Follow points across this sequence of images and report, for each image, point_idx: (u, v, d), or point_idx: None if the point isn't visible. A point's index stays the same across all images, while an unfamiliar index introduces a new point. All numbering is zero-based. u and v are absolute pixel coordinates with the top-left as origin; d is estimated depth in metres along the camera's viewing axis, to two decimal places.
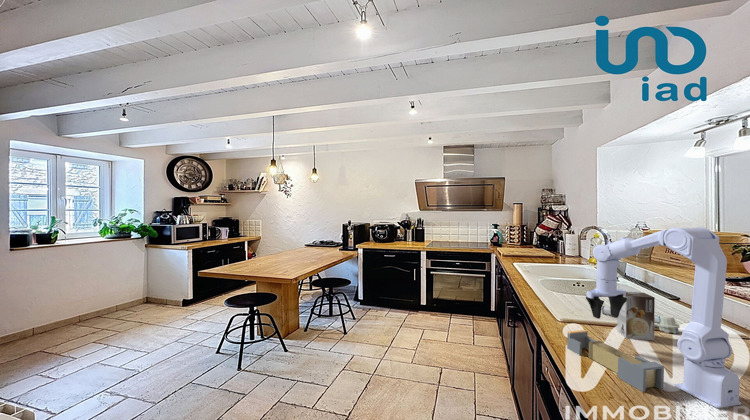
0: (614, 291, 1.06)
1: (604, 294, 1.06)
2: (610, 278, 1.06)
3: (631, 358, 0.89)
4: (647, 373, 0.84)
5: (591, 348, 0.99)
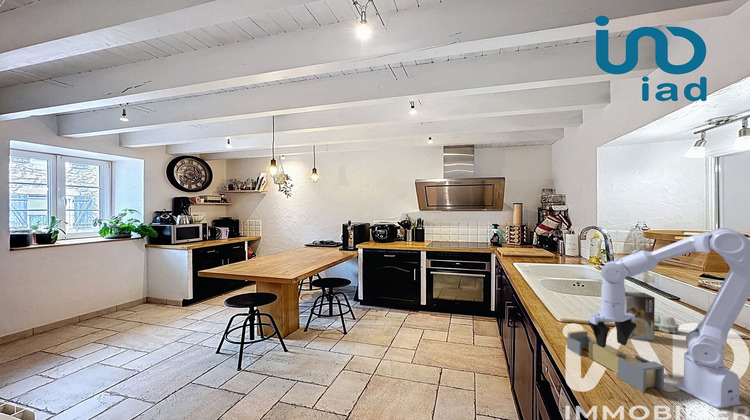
0: (622, 316, 0.92)
1: (610, 320, 0.92)
2: (623, 301, 0.91)
3: (631, 358, 0.89)
4: (647, 373, 0.84)
5: (591, 348, 0.99)
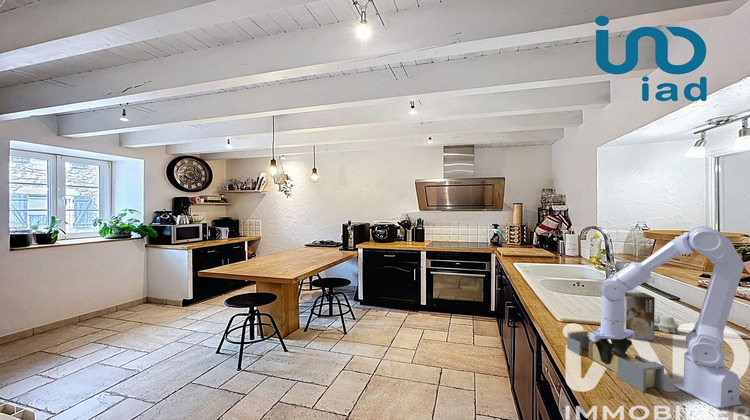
0: (621, 334, 0.92)
1: (610, 337, 0.92)
2: (622, 318, 0.92)
3: (631, 358, 0.89)
4: (647, 373, 0.84)
5: (591, 348, 0.99)
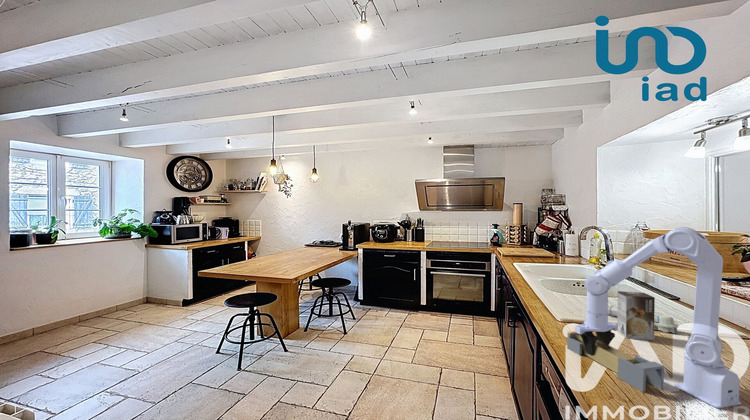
0: (605, 326, 0.97)
1: (594, 330, 0.97)
2: (605, 312, 0.97)
3: (614, 349, 0.95)
4: None
5: None
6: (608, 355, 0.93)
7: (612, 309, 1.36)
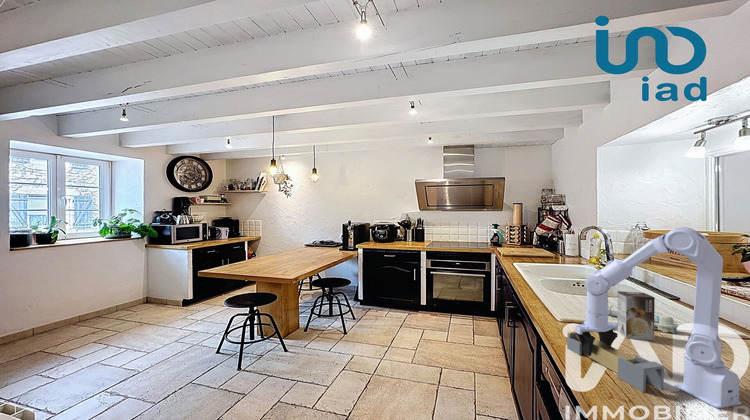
0: (605, 326, 0.97)
1: (594, 330, 0.97)
2: (605, 312, 0.97)
3: (614, 349, 0.95)
4: None
5: None
6: (608, 355, 0.93)
7: (612, 309, 1.36)
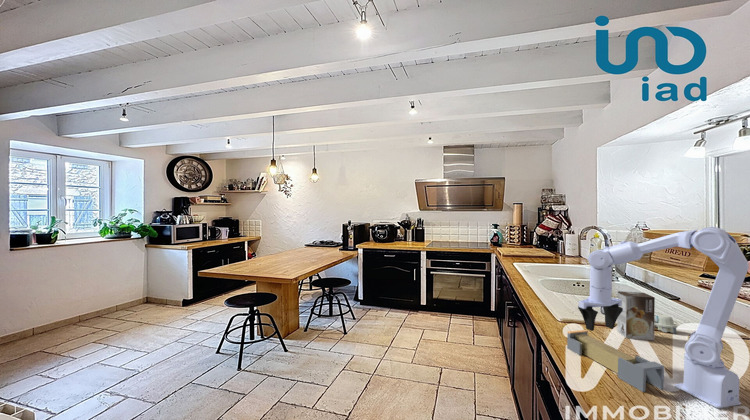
0: (609, 301, 0.96)
1: (598, 304, 0.96)
2: (609, 286, 0.96)
3: (614, 349, 0.95)
4: None
5: None
6: (608, 355, 0.93)
7: None
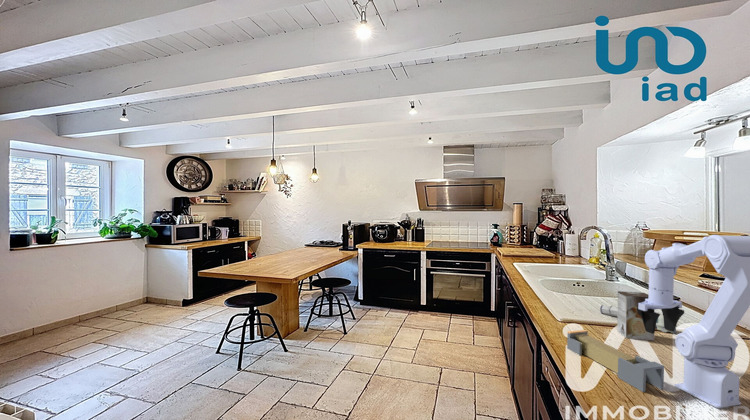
0: (671, 303, 0.94)
1: (660, 306, 0.94)
2: (662, 288, 0.95)
3: (614, 349, 0.95)
4: None
5: None
6: (608, 355, 0.93)
7: (611, 309, 1.36)
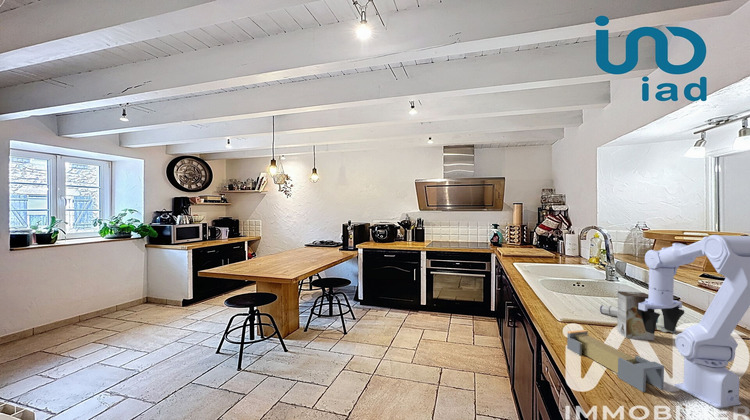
0: (671, 303, 0.94)
1: (660, 306, 0.94)
2: (662, 288, 0.95)
3: (614, 349, 0.95)
4: None
5: None
6: (608, 355, 0.93)
7: (611, 309, 1.36)
